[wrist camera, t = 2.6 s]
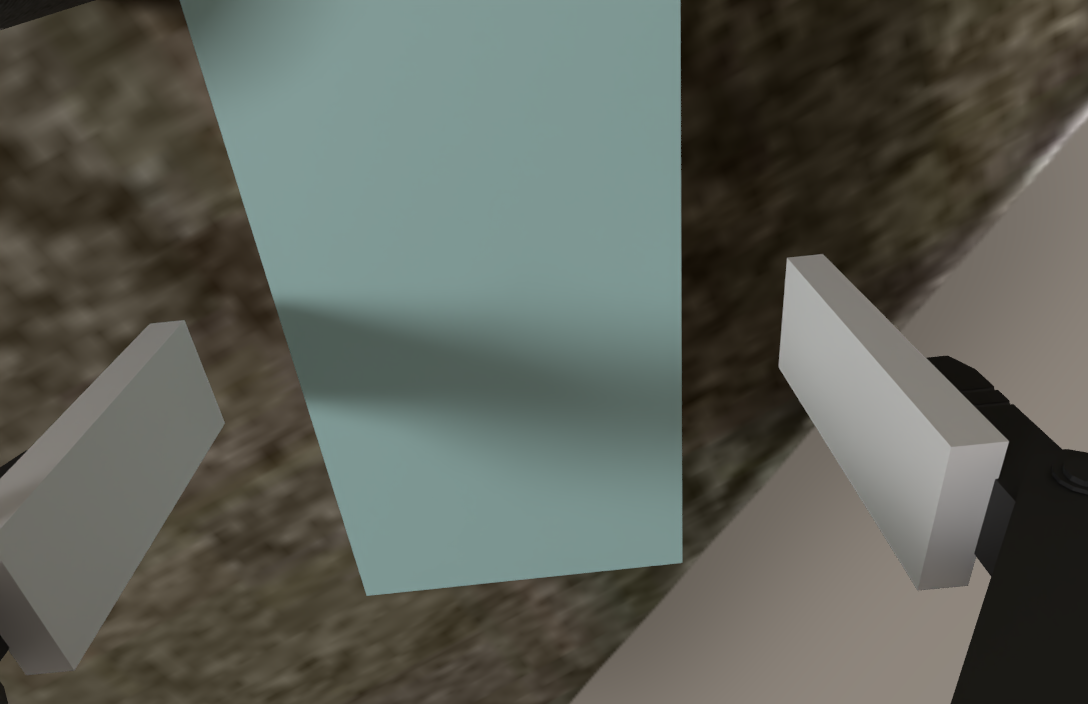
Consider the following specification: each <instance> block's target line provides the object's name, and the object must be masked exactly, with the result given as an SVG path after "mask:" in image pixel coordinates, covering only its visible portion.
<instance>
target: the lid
mask: <svg viewBox="0 0 1088 704" xmlns="http://www.w3.org/2000/svg"><path fill="white" fill-rule="evenodd" d="M180 3H181V6H182V9H183V13H184V16H185V19H186V22H187V25H188V28H189V32H190V35H191V38H192V41H193V44H194V48H195V51H196V54H197V57H198V60H199V63H200V67H201V70H202V73H203V76H204V79H205V83H206V86H207V89H208V92H209V95H210V98H211V102H212V105H213V108H214V111H215V114H216V118H217V121H218V124H219V127H220V130H221V133H222V137H223V140H224V143H225V146H226V149H227V153H228V156H229V159H230V162H231V165H232V168H233V172H234V175H235V178H236V181H237V184H238V188H239V191H240V194H241V197H242V200H243V203H244V207H245V210H246V213H247V216H248V219H249V223H250V226H251V229H252V232H253V235H254V238H255V242H256V245H257V248H258V251H259V254H260V258H261V261H262V264H263V267H264V270H265V273H266V277H267V280H268V283H269V286H270V289H271V293H272V296H273V299H274V302H275V305H276V308H277V312H278V315H279V318H280V321H281V324H282V327H283V331H284V334H285V337H286V340H287V343H288V347H289V350H290V353H291V356H292V359H293V362H294V366H295V369H296V372H297V375H298V378H299V382H300V385H301V388H302V391H303V394H304V397H305V401H306V404H307V407H308V410H309V413H310V417H311V420H312V423H313V426H314V429H315V432H316V436H317V439H318V442H319V445H320V448H321V452H322V455H323V458H324V461H325V464H326V467H327V471H328V474H329V477H330V480H331V483H332V487H333V490H334V493H335V496H336V499H337V502H338V506H339V509H340V512H341V515H342V518H343V522H344V525H345V528H346V531H347V534H348V537H349V541H350V544H351V547H352V550H353V553H354V557H355V560H356V563H357V566H358V569H359V572H360V576H361V579H362V582H363V585H364V588H365V592H366V595H367V596H369V595H379V594H389V593H398V592H408V591H417V590H427V589H436V588H446V587H455V586H465V585H474V584H484V583H493V582H503V581H513V580H522V579H532V578H541V577H551V576H560V575H570V574H579V573H589V572H598V571H608V570H617V569H627V568H636V567H646V566H656V565H665V564H675V563H682V329H681V12H680V0H180Z"/></svg>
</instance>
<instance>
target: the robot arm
mask: <svg viewBox="0 0 1088 704" xmlns="http://www.w3.org/2000/svg"><path fill="white" fill-rule="evenodd" d="M779 369H780V370H781V372H782V374H783V375H784V377H785V378H786V380H787V382H788V383H789V385H790V386H791V388H792V390H793V391H794V393H795V394H796V396H797V398H798V399H799V401H800V403H801V404H802V406H803V407H804V409H805V411H806V412H807V414H808V415H809V417H810V419H811V420H812V422H813V423H814V425H815V427H816V428H817V430H818V431H819V433H820V435H821V436H822V438H823V439H824V441H825V443H826V444H827V446H828V447H829V449H830V451H831V452H832V454H833V455H834V457H835V459H836V460H837V462H838V463H839V465H840V467H841V468H842V470H843V472H844V473H845V475H846V476H847V478H848V480H849V481H850V483H851V484H852V486H853V487H854V489H855V491H856V492H857V494H858V496H859V497H860V499H861V500H862V502H863V503H864V505H865V507H866V508H867V510H868V511H869V513H870V515H871V517H872V518H873V520H874V521H875V523H876V524H877V526H878V527H879V529H880V531H881V533H882V534H883V536H884V537H885V539H886V540H887V542H888V544H889V545H890V547H891V549H892V550H893V552H894V553H895V555H896V557H897V558H898V560H899V561H900V563H901V565H902V566H903V568H904V569H905V571H906V573H907V574H908V576H909V577H910V579H911V581H912V582H913V584H914V586H915V587H916V589H917V590H928V589H939V588H949V587H960V586H968V584H969V580H970V577H971V573H972V570H973V566H974V563H975V559H976V557H977V558H978V559H979V560H980V562H981V563H982V565H983V566H984V567H985V569H986V570H987V571H988V573H989V574H990V575H991V579H990V583H989V586H988V589H987V592H986V595H985V598H984V601H983V604H982V608H981V611H980V614H979V617H978V620H977V623H976V626H975V629H974V633H973V636H972V639H971V642H970V645H969V648H968V651H967V655H966V658H965V661H964V664H963V667H962V670H961V673H960V676H959V680H958V683H957V686H956V689H955V692H954V695H953V699H952V701H951V704H1088V453H1086V452H1080V451H1075V450H1069V449H1064V450H1062V449H1061V448H1060V447H1059V446H1058V445H1057V444H1056V443H1055V442H1053V440H1051V439H1050V438H1049V437H1048V436H1047V435H1046V434H1045V433H1044V432H1043V431H1042V430H1041V429H1040V428H1038V427H1037V426H1036V425H1035V424H1034V423H1033V422H1032V421H1031V420H1030V419H1029V418H1028V417H1027V416H1026V415H1024V414H1023V413H1022V412H1021V411H1020V410H1019V409H1018V408H1017V407H1016V406H1015V405H1013V404H1011V405H1010V403H1009V400H1008V399H1007V398H1006V397H1005V396H1004V395H1003V394H1002V393H1001V392H999V391H998V390H994V386H993V385H992V384H991V383H990V382H989V381H988V380H986V379H985V378H984V377H983V376H982V375H981V374H980V373H979V372H978V371H977V370H975V369H974V368H972V367H970V366H968V365H966V364H963V363H962V362H960V361H958V360H956V359H953V358H952V357H949V356H939V357H931V358H930V357H929V358H926V357H925V356H924V355H923V354H922V353H921V352H920V351H919V350H918V349H917V348H916V347H915V346H914V345H913V344H912V343H911V342H910V341H909V340H908V339H907V338H906V337H905V336H904V335H903V334H902V333H901V332H900V331H899V330H898V329H897V328H896V327H895V326H894V325H893V324H892V323H891V322H890V321H889V320H888V319H887V318H886V317H885V316H884V315H883V314H882V313H881V312H880V311H879V310H878V309H877V308H876V307H875V306H874V305H873V304H872V303H871V302H870V301H869V300H868V299H867V298H866V297H865V296H864V295H863V294H862V293H861V292H860V291H859V290H858V289H857V288H856V287H855V286H854V285H853V284H852V283H851V282H850V281H849V280H848V279H847V278H846V277H845V276H844V275H843V274H842V273H841V272H840V271H839V270H838V269H837V268H836V267H835V266H834V265H833V264H832V263H831V262H830V261H829V260H828V259H827V258H826V257H825V256H824V255H823V254H818V255H808V256H799V257H789V258H787V265H786V277H785V290H784V303H783V316H782V328H781V341H780V354H779ZM224 424H225V422H224V420H223V417H222V414H221V412H220V409H219V407H218V404H217V402H216V399H215V397H214V394H213V392H212V389H211V387H210V384H209V381H208V379H207V376H206V374H205V371H204V369H203V366H202V364H201V361H200V359H199V356H198V354H197V351H196V348H195V346H194V343H193V341H192V338H191V336H190V333H189V331H188V328H187V326H186V323H185V321H184V320H182V321H173V322H163V323H153V324H149V325H148V326H147V327H146V328H145V329H144V330H143V331H142V332H141V334H140V335H139V336H138V337H137V338H136V339H135V340H134V341H133V342H132V343H131V344H130V345H129V346H128V347H127V348H126V349H125V350H124V351H123V352H122V353H121V354H120V355H119V356H118V357H117V358H116V359H115V360H114V361H113V363H112V364H111V365H110V366H109V367H108V368H107V369H106V370H105V371H104V372H103V373H102V374H101V375H100V376H99V377H98V378H97V379H96V380H95V381H94V382H93V383H92V384H91V385H90V386H89V387H88V388H87V389H86V390H85V392H84V393H83V394H82V395H81V396H80V397H79V398H78V399H77V400H76V401H75V402H74V403H73V404H72V405H71V406H70V407H69V408H68V409H67V410H66V411H65V412H64V413H63V414H62V415H61V416H60V417H59V418H58V419H57V421H56V422H55V423H54V424H53V425H52V426H51V427H50V428H49V429H48V430H47V431H46V432H45V433H44V434H43V435H42V436H41V437H40V438H39V439H38V440H37V441H36V442H35V443H34V444H33V445H32V446H31V447H30V448H29V449H28V450H26V451H24V452H23V453H21V454H20V455H18V456H17V457H15V458H14V459H12V460H11V461H9V462H8V463H6V464H5V465H3V466H2V467H0V661H1V659H2V658H3V657H4V655H5V654H6V652H7V651H8V650H9V652H10V653H11V655H12V656H13V657H14V659H15V660H16V662H17V663H18V664H19V666H20V667H21V668H22V670H23V671H24V673H25V674H26V675H33V674H43V673H54V672H64V671H74V670H75V669H76V667H77V665H78V664H79V662H80V660H81V659H82V657H83V656H84V654H85V652H86V651H87V649H88V647H89V646H90V644H91V642H92V641H93V639H94V637H95V636H96V634H97V632H98V631H99V629H100V628H101V626H102V624H103V623H104V621H105V619H106V618H107V616H108V614H109V613H110V611H111V609H112V608H113V606H114V605H115V603H116V601H117V600H118V598H119V596H120V595H121V593H122V591H123V590H124V588H125V586H126V585H127V583H128V582H129V580H130V578H131V577H132V575H133V573H134V572H135V570H136V568H137V567H138V565H139V563H140V562H141V560H142V559H143V557H144V555H145V554H146V552H147V550H148V549H149V547H150V545H151V544H152V542H153V540H154V539H155V537H156V535H157V534H158V532H159V531H160V529H161V527H162V526H163V524H164V522H165V521H166V519H167V517H168V516H169V514H170V512H171V511H172V509H173V508H174V506H175V504H176V503H177V501H178V499H179V498H180V496H181V494H182V493H183V491H184V489H185V488H186V486H187V485H188V483H189V481H190V480H191V478H192V476H193V475H194V473H195V471H196V470H197V468H198V466H199V465H200V463H201V461H202V460H203V458H204V457H205V455H206V453H207V452H208V450H209V448H210V447H211V445H212V443H213V442H214V440H215V438H216V437H217V435H218V434H219V432H220V430H221V429H222V427H223V425H224ZM0 704H8V701H7V697H6V693H5V689H4V686H3V685H2V684H1V682H0Z"/></svg>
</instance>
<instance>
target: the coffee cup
mask: <svg viewBox="0 0 1088 704" xmlns="http://www.w3.org/2000/svg"><path fill="white" fill-rule="evenodd" d="M91 1H94V0H0V30H2V29H5V28H9V27H12V26H15V25H18V24H21V23H24V22H28V21H31V20H34V19H37V18H40V17H43V16H46V15H50V14H53V13H56V12H59V11H62V10H65V9H69V8H72V7H75V6H78V5H81V4H84V3H88V2H91Z"/></svg>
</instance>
